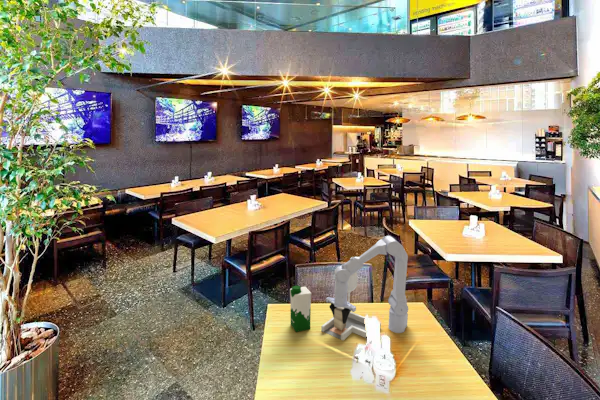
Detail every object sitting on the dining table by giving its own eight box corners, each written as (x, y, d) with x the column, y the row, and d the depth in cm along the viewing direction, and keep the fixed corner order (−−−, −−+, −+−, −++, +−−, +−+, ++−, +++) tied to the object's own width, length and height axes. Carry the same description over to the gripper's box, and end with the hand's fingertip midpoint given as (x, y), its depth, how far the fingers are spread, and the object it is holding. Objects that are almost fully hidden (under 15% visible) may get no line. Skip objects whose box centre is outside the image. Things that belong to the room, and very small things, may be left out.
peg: (338, 323, 145) (339, 305, 144) (346, 326, 143) (346, 308, 141) (333, 327, 142) (334, 308, 141) (341, 330, 140) (342, 311, 138)
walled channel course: (343, 315, 156) (343, 309, 155) (380, 329, 144) (380, 322, 143) (321, 332, 141) (321, 325, 140) (360, 349, 129) (360, 342, 128)
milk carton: (288, 323, 148) (288, 284, 145) (305, 320, 151) (306, 281, 148) (294, 333, 140) (294, 292, 137) (313, 329, 143) (313, 288, 140)
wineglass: (356, 305, 166) (357, 267, 163) (357, 313, 158) (359, 274, 154) (339, 304, 167) (340, 267, 164) (340, 312, 159) (341, 273, 155)
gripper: (322, 291, 141) (322, 319, 143) (350, 301, 132) (349, 330, 134) (331, 286, 147) (330, 313, 149) (358, 295, 138) (357, 323, 140)
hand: (340, 321), depth 142 cm, fingers closed on peg, 4 cm apart
